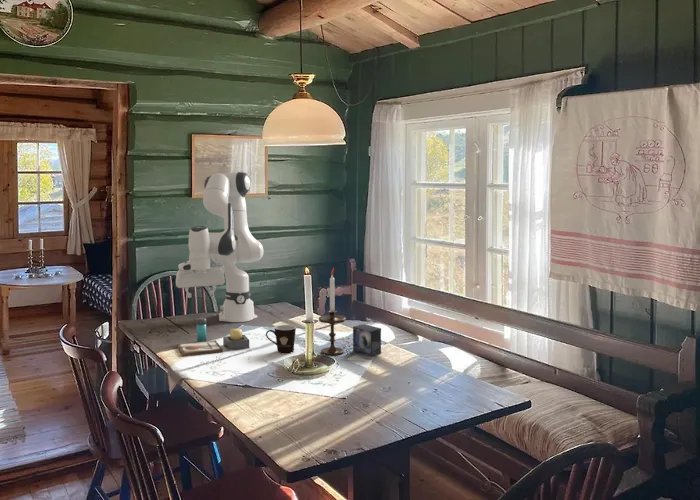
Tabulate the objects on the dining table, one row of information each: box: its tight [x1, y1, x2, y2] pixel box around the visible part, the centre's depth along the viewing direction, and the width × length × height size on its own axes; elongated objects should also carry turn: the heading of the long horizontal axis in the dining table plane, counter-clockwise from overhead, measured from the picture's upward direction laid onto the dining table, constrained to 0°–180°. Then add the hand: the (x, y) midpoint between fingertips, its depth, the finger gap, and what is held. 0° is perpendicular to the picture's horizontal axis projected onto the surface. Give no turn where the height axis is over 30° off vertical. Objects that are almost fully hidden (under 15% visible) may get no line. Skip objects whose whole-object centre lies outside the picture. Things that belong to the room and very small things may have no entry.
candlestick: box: [318, 267, 347, 357], centre depth 271 cm, size 11×11×35 cm
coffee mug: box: [265, 324, 297, 355], centre depth 275 cm, size 12×9×10 cm
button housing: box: [222, 334, 250, 351], centre depth 283 cm, size 9×9×4 cm
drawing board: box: [176, 339, 224, 357], centre depth 278 cm, size 15×16×1 cm
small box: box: [352, 323, 382, 357], centre depth 273 cm, size 11×6×10 cm, turn 45°
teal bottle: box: [195, 317, 208, 342], centre depth 290 cm, size 4×4×10 cm
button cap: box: [229, 328, 243, 341], centre depth 282 cm, size 5×5×4 cm
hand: (200, 296), depth 288 cm, fingers open, 8 cm apart
